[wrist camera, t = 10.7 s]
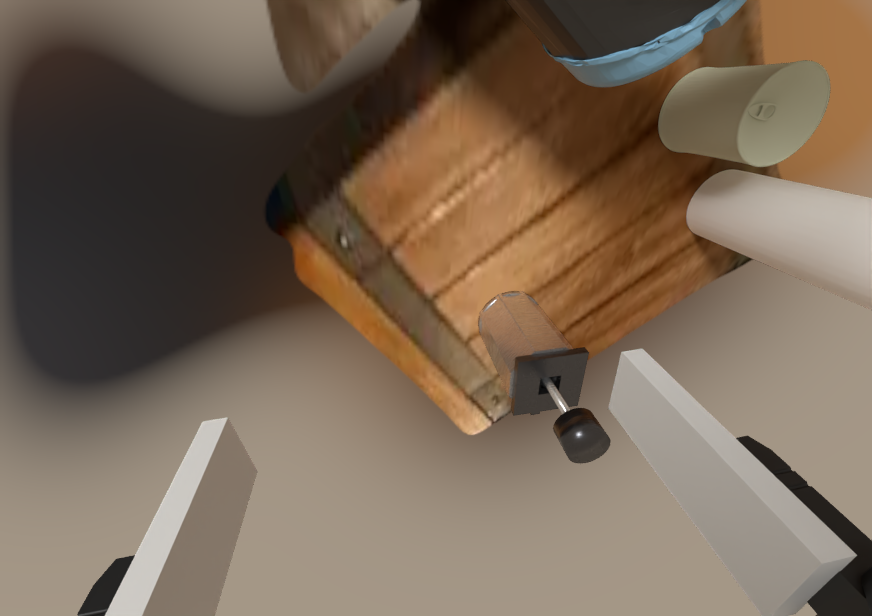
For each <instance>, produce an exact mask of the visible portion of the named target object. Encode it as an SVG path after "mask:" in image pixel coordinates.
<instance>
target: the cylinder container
mask: <svg viewBox="0 0 872 616" xmlns="http://www.w3.org/2000/svg"><path fill="white" fill-rule="evenodd" d="M686 220H687V225H688V227H689V229H690V230H691V231H692V232H693V233H694V234H696V235H699V236H701V237H703V238H706V239H708V240H710V241H712V242H715V243H717V244H719V245H722V246H724V247H726V248H729V249H731V250H733V251H736V252H738V253H740V254H743V255H745V256H747V257H750V258H752V259H754V260H757V261H759V262H761V263H763V264H766V265H768V266H770V267H773V268H775V269H777V270H780V271H782V272H784V273H787V274H789V275H791V276H794V277H796V278H798V279H800V280H803V281H805V282H807V283H810V284H812V285H814V286H817V287H819V288H822V289H824V290H826V291H828V292H831V293H833V294H835V295H837V296H840V297H842V298H844V299H847V300H849V301H851V302H854V303H856V304H858V305H861V306H863V307H865V308H868V309H870V310H872V198H870V197H865V196H860V195H855V194H850V193H846V192H841V191H836V190H831V189H826V188H822V187H817V186H812V185H807V184H802V183H798V182H793V181H788V180H783V179H779V178H774V177H769V176H764V175H760V174H755V173H750V172H745V171H740V170H735V169H730V170H724V171H721V172H719V173H717V174H715V175H713V176H712V177H710V178H709V179H707V180H706V181H705V182H704V183H703V184H702V185H701V186H700V187H699V188H698V190H697V191H696V192H695V194H694V195H693V197H692V199H691V201H690V203H689V206H688V209H687V214H686Z"/></svg>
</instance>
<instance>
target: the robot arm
mask: <svg viewBox="0 0 872 616" xmlns="http://www.w3.org/2000/svg"><path fill="white" fill-rule="evenodd" d="M505 1H506V2H507V3H508V4H509V5H510V6H511V7H512V9H513V10H514V11H515V12H516V13H517V14H518V16H519V17H520V18H521V19H522V20H523V21H524V22H525V24H526V25H527V26H528V27H529V28H530V29H531V30H532V32H533V33H534V34H535V35H536V36H537V37H538V39H539V40H540V41H541V42H542V45H543V47H544V49H545V51H546V52H547V54H548V55H549V56H550V57H553V58H554V60H555V61H557V62H560V63H562V64H563V65H564V66H565V67H566V68H567V69H568V70H569V71H570V72H571V74H572V75H573V76H574V77H575V78H576V79H578V80H579V81H581V82H582V83H584V84H586V85H589V86H593V87H614V86H619V85H623V84H627V83H630V82H633V81H636V80H639V79H641V78H643V77H646V76H648V75H650V74H652V73H654V72H656V71H658V70H660V69H662V68H664V67H666V66H667V65H669V64H671V63H673V62H674V61H676V60H677V59H679V58H681V57H682V56H684V55H685V54H687V53H688V52H689V51H691V50H692V49H694V48H695V47H696V46H698V45H699V44H700V43H702V40H703V35H704V34H705V33H706V32H708V31H710V30H712V29H714V28H718V27H720V26H722V25H723V24H724V23H725V22H727V21H728V20H729V19H730V18H731V17H732V16H733V15H734V14H735V13H736V12H737V11H738V10H739V9H740V8H741V6H742V5H743V4H744V3H745V2H746V1H747V0H505ZM608 409H609V410H610V411H611V413H612V414H613V415H614V417H615V418H616V419H617V421H618V422H619V423H620V425H621V426H622V427H623V429H624V430H625V432H626V433H627V434H628V436H629V437H630V438H631V440H632V441H633V442H634V444H635V445H636V447H637V448H638V449H639V450H640V452H641V453H642V454H643V456H644V457H645V459H646V460H647V461H648V463H649V464H650V465H651V467H652V468H653V470H654V471H655V472H656V473H657V475H658V476H659V478H660V479H661V480H662V482H663V483H664V484H665V486H666V487H667V488H668V490H669V491H670V492H671V494H672V495H673V496H674V498H675V499H676V501H677V502H678V503H679V505H680V506H681V507H682V509H683V510H684V511H685V512H686V514H687V515H688V517H689V518H690V520H691V521H692V522H693V523H694V525H695V526H696V528H697V529H698V530H699V532H700V533H701V534H702V536H703V537H704V538H705V540H706V541H707V542H708V544H709V545H710V547H711V548H712V549H713V551H714V552H715V553H716V555H717V556H718V557H719V559H720V560H721V561H722V563H723V564H724V566H725V567H726V568H727V569H728V571H729V572H730V574H731V575H732V576H733V578H734V579H735V580H736V582H737V583H738V584H739V586H740V587H741V589H742V590H743V591H744V593H745V594H746V595H747V597H748V598H749V599H750V601H751V602H752V603H753V605H754V606H755V607H756V609H757V610H758V611H759V613H760V614H761V615H762V616H788V615H793V614H796V613H797V612H798V611H799V610H800V609H801V608H802V607H803V606H804V605H805V604H806V603H807V602H808V603H809V605H810V606H811V607H812V608H813V609H814V610H815V612H816V613H817V615H816V616H872V541H871V540H870V539H869V538H868V537H867V536H866V535H865V534H863V533H862V532H861V531H860V530H859V529H858V528H857V527H856V526H855V525H854V524H853V523H851V522H850V521H849V520H848V519H847V518H846V517H845V516H844V515H843V514H842V513H840V512H839V511H838V510H837V509H836V508H835V507H834V506H833V505H832V504H830V503H829V502H828V501H827V500H826V499H825V498H824V497H823V496H822V495H821V494H819V493H818V492H817V491H816V490H815V489H814V488H813V487H810V486H808V484H807V482H806V481H805V480H804V479H803V478H802V477H801V476H799V475H798V474H797V473H796V472H795V471H792V470H791V468H790V466H788V465H787V464H786V463H785V462H784V461H783V460H782V459H781V458H780V457H778V456H777V455H776V454H775V453H774V452H773V451H772V450H771V449H769V448H767V447H765V446H764V445H762V444H760V443H759V442H757V441H755V440H754V439H752V438H750V437H749V436H744V437H739V438H735V437H734V436H733V435H732V434H731V433H730V432H729V431H727V430H726V429H725V428H724V427H723V426H722V425H721V424H720V423H719V422H718V421H717V420H716V419H715V418H714V417H713V416H712V415H711V414H710V413H709V412H708V411H707V410H706V409H705V408H704V407H703V406H701V405H700V404H699V403H698V402H697V401H696V400H695V399H694V398H693V397H692V396H691V395H690V394H689V393H688V392H687V391H686V390H685V389H684V388H683V387H682V386H681V385H680V384H679V383H678V382H677V381H676V380H674V379H673V378H672V377H671V376H670V375H669V374H668V373H667V372H666V371H665V370H664V369H663V368H662V367H661V366H660V365H659V364H658V363H657V362H656V361H655V360H654V359H653V358H652V357H650V356H649V354H647V353H646V352H645V351H644V350H643V349H636V350H630V351H624V352H622V353H621V356H620V360H619V365H618V369H617V373H616V377H615V382H614V386H613V390H612V394H611V399H610V403H609V407H608ZM256 474H257V470H256V468H255V466H254V464H253V462H252V460H251V459H250V457H249V455H248V453H247V451H246V449H245V448H244V446H243V444H242V442H241V440H240V439H239V437H238V435H237V433H236V431H235V429H234V427H233V426H232V424H231V422H230V420H229V418H221V419H215V420H209V421H203V422H202V424H201V426H200V428H199V430H198V432H197V434H196V436H195V438H194V440H193V442H192V444H191V446H190V448H189V450H188V452H187V454H186V456H185V458H184V460H183V462H182V464H181V466H180V468H179V470H178V471H177V473H176V475H175V478H174V479H173V481H172V484H171V485H170V487H169V489H168V492H167V493H166V496H165V497H164V499H163V501H162V503H161V505H160V507H159V509H158V511H157V513H156V515H155V517H154V519H153V521H152V523H151V525H150V527H149V529H148V531H147V533H146V535H145V537H144V539H143V541H142V543H141V545H140V547H139V549H138V551H137V553H136V555H134V556H129V557H124V558H119V559H116V560H115V561H114V562H113V563H112V564H111V566H110V567H109V568H108V569H107V570H106V571H105V572H104V574H103V575H102V576H101V577H100V578H99V579H98V581H97V582H96V583H95V584H94V585H93V587H92V589H91V591H90V592H89V594H88V596H87V598H86V600H85V601H84V603H83V605H82V607H81V609H80V611H79V612H78V616H215V613H216V610H217V606H218V603H219V599H220V596H221V593H222V589H223V586H224V583H225V579H226V576H227V572H228V569H229V566H230V562H231V559H232V555H233V552H234V549H235V545H236V542H237V538H238V535H239V532H240V528H241V525H242V522H243V518H244V515H245V511H246V508H247V505H248V501H249V498H250V495H251V491H252V488H253V485H254V481H255V478H256Z"/></svg>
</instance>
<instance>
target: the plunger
mask: <svg viewBox="0 0 872 616" xmlns="http://www.w3.org/2000/svg"><path fill="white" fill-rule="evenodd" d="M541 380H542V381H543V383H544V385H545V386H546V388H547V390H548V391H549V393H550V395H551V396H552V398H553V400H554V401H555V403H556V405H557V406H558V408H559V410H560V411H561V413H562V415H561V416H560V417H559V418H558V419H557V420H556V422H555V424H554V427H553V429H554V432H555V434H556V436H557V438H558V440H559V442H560V444H561V445H562V447H563V449H564V451H565V453H566V455H567V456H568V458H569V459H570V461H572V462H574V463H587V462H591V461H593V460H595V459H597V458H599V457H600V456H602V455H603V454H604V453H605V452H606V451H607V450H608V448H609V446H610V438H609V437H608V435H607V434H606V432H605V431H604V429H603V428H602V427H601V425H600V424H599V422H598V421H597V419H596V418H595V417H594V415H593V414H592V412H591V411H590V410H588V409H585V408H576V409H572V410H570V408H569V407H568V405H567V404H566V402H565V401H564V399H563V397H562V396H561V394H560V393H559V391H558V390H557V388H556V386H555V385H554V383H553V382H552V380H551V379H550V377H547V378H541Z"/></svg>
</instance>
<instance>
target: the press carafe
mask: <svg viewBox="0 0 872 616" xmlns="http://www.w3.org/2000/svg"><path fill="white" fill-rule="evenodd" d="M478 326H479V333H480V335H481V337H482V340H483V342H484V344H485V346H486V348H487V350H488V352H489V355H490V357H491V359H492V361H493V363H494V365H495V368H496V370H497V372H498V374H499V376H500V378H501V381H502V383H503V385H504V387H505V389H506V391H507V393H508V396H509V397H510V398H512V402H511V411H512V413H513V415H520V414H527V413H530V414H531V415H534V414H539V413H540V411H546V410H552V409H558V406H557V405H556V403H555V401H554V400H553V398H552V396H551V395H550V393H549V391H548V390H547V388H546V386H545V385H544V383H543V381H542V380H541V378H547V377H550V379H551V380H552V382H553V383H554V385H555V386H556V388H557V390H558V391H559V393H560V394H561V396H562V397H563V399H564V401H565V402H566V404H567V405H568V407H570V406H577V405H578V401H579V397H580V392H581V387H582V382H583V378H584V373H585V368H586V364H587V359H588V354H589V352H588V351H587V350H586V349H585V347H583V348H576V349H573V347H572V346H571V345H570V344H569V342H568V341H567V340H566V339H565V337H564V336H563V335H562V334H561V332H560V331H559V330H558V329H557V327H556V326H555V325H554V324H553V322H552V321H551V320H550V319H549V317H548V316H547V315H546V314H545V313H544V311H543V310H542V309H541V308H540V306H539V305H538V304H537V303H536V301H535V300H534V299H533V298H532V297H531V296H529V295H528V294H526V293H524V292H523V291H521V292H518V291H511V292H505V293H502V294H498V295H497V296H496V297H494V298H493V299H491V300H490V301H489V302H488V303H487V304H486V305H485V306H484V308H483V309H482V310H481V311H480V316H479V320H478Z"/></svg>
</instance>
